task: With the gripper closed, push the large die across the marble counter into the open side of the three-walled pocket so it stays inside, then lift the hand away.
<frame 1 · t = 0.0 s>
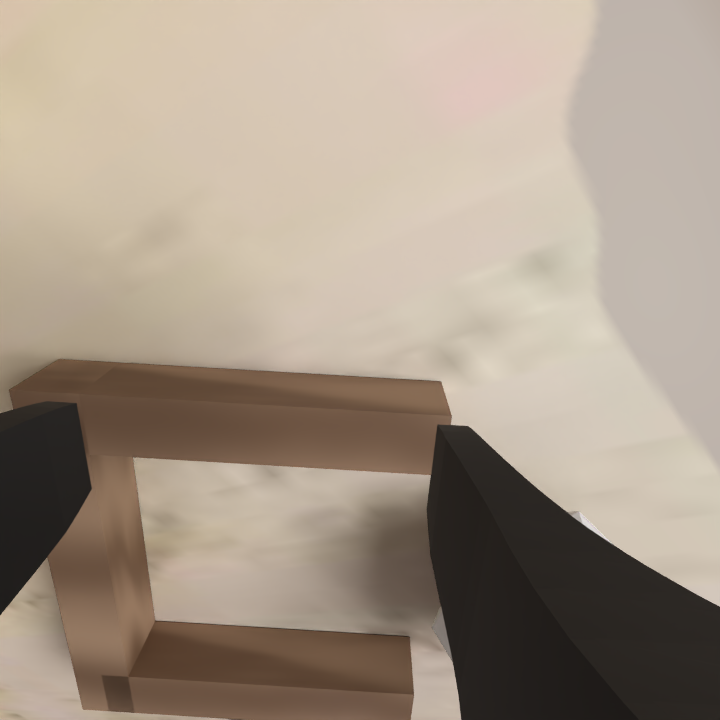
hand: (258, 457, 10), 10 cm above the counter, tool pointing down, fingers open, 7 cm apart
die: (519, 547, 23), on the counter
pocket: (268, 536, 23), on the counter
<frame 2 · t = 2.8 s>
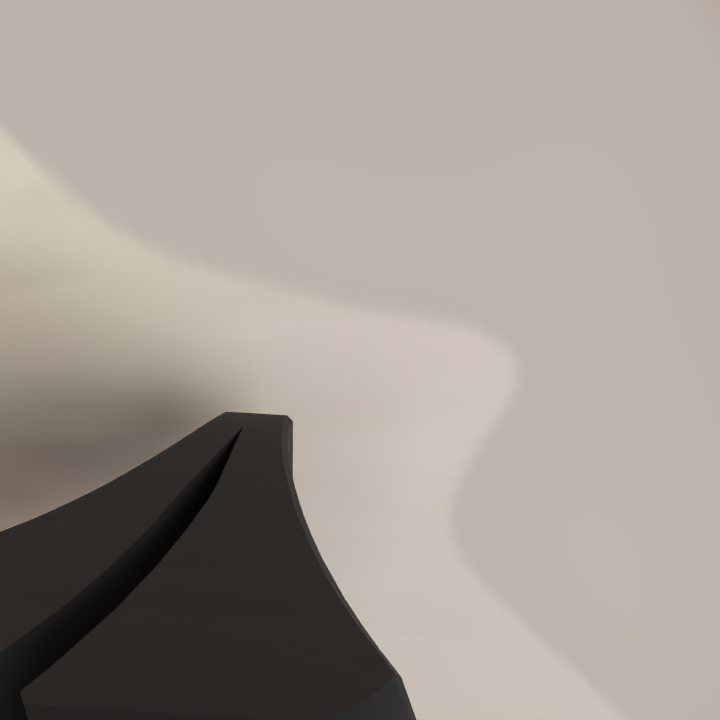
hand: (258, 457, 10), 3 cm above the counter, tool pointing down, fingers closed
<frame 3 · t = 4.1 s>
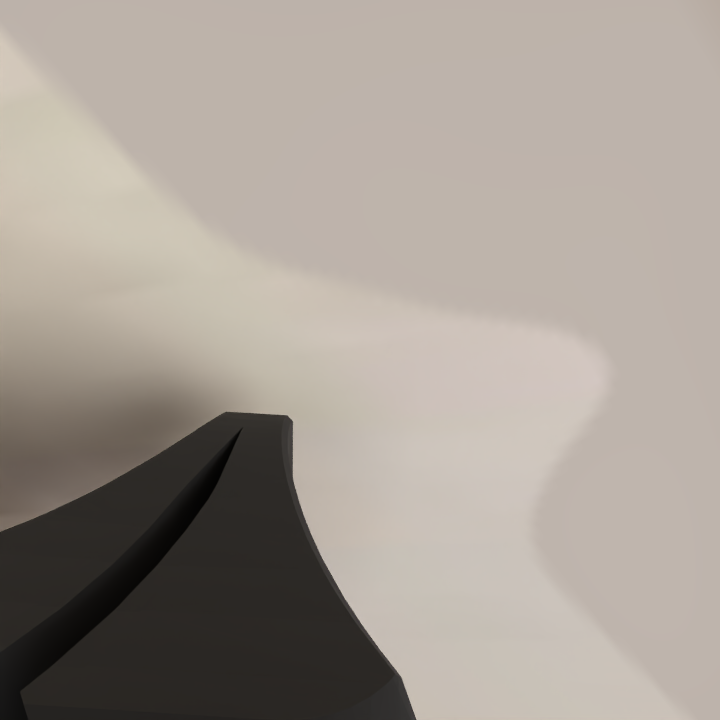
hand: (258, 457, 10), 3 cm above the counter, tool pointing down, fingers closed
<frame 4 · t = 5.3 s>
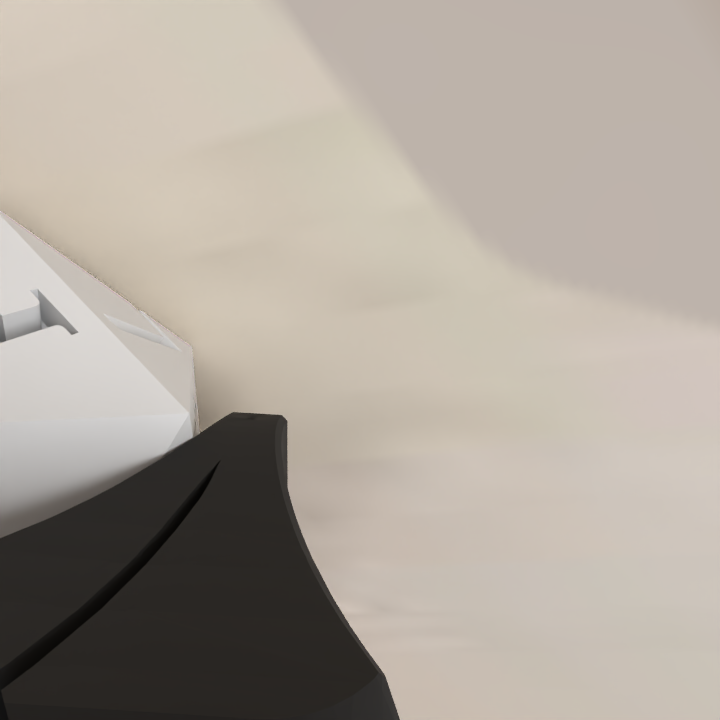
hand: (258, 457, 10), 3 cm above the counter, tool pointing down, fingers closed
die: (95, 380, 13), on the counter, touching gripper
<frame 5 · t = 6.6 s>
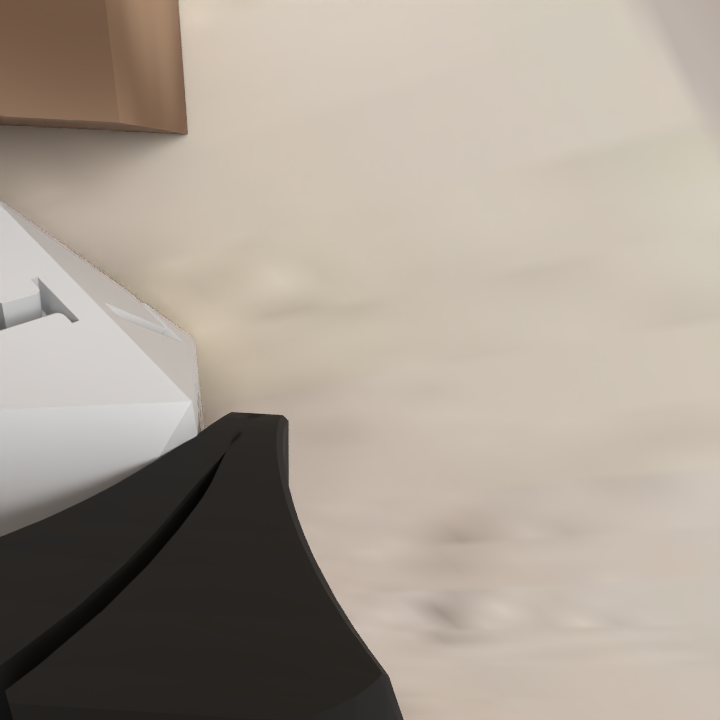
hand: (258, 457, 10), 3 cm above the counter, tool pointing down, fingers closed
die: (99, 374, 13), on the counter, touching gripper
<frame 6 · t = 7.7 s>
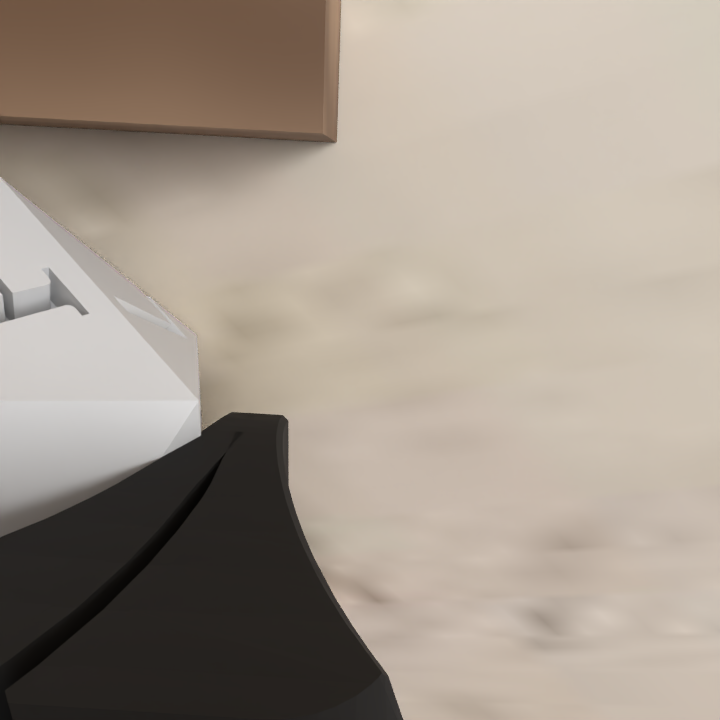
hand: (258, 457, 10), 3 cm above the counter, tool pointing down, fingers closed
die: (97, 365, 13), on the counter, touching gripper
pocket: (47, 381, 13), on the counter
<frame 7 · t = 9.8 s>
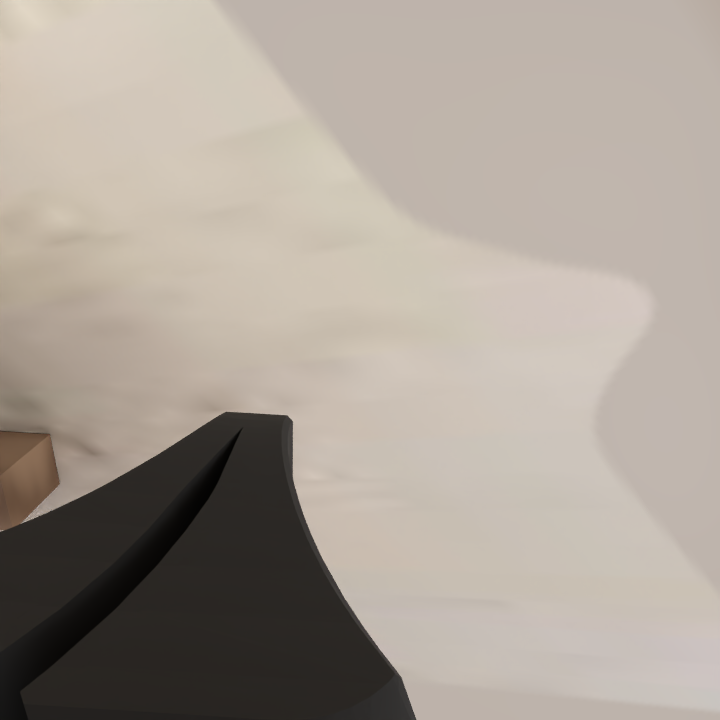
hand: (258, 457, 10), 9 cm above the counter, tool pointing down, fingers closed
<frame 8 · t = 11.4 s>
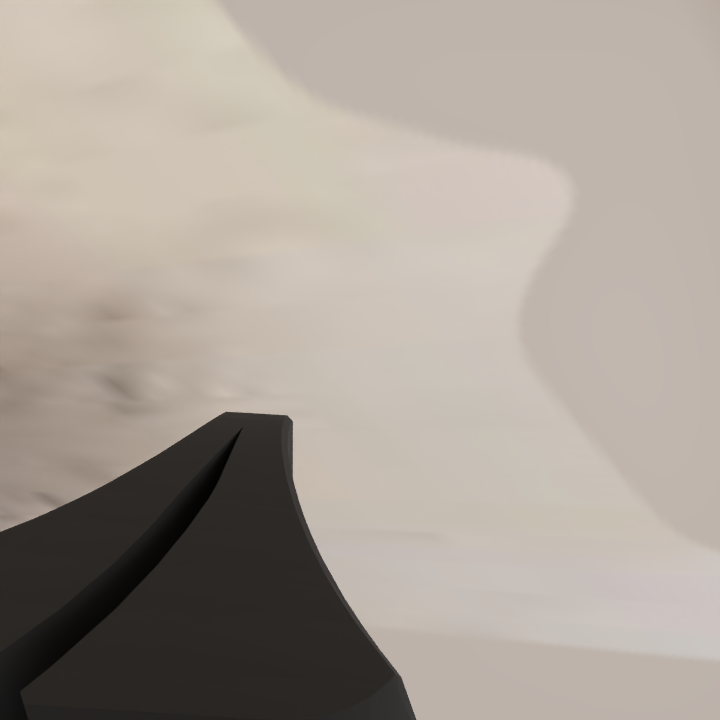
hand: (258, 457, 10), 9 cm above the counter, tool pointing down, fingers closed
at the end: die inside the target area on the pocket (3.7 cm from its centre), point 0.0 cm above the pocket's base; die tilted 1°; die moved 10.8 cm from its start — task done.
